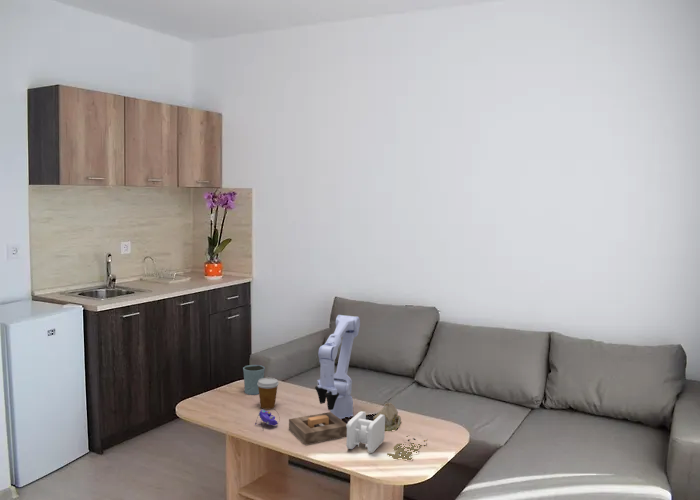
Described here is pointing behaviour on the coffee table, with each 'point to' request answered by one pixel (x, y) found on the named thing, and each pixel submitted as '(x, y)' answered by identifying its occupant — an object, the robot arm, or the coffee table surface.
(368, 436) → the cable organizer
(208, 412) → the coffee table surface
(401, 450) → the lettering
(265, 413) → the game controller
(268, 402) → the disposable coffee cup
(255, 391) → the teal cup
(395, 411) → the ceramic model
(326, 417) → the tan rectangular block
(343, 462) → the coffee table surface
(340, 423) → the brown piece
